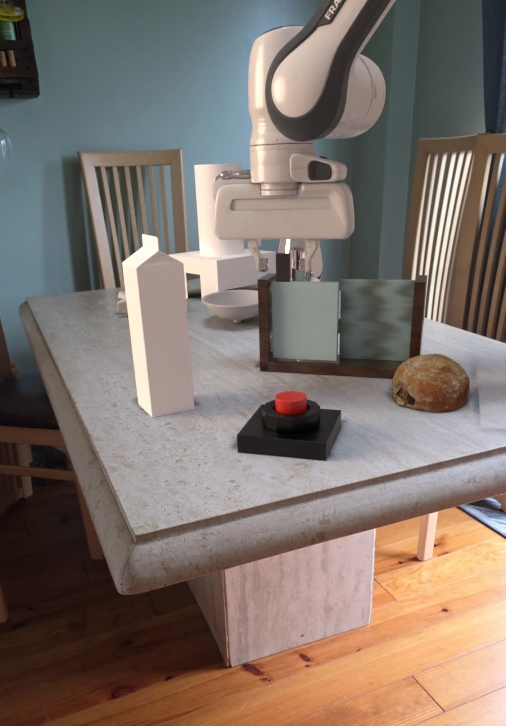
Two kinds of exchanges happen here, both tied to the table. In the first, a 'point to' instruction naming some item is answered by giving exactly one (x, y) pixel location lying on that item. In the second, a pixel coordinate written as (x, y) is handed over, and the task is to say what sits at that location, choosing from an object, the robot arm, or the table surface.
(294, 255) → the wineglass
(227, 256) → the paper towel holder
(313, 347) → the window
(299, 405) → the button
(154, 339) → the milk
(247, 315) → the dish
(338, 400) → the table surface
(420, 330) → the window frame
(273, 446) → the button box
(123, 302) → the bunny figurine
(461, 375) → the bread roll
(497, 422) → the table surface
